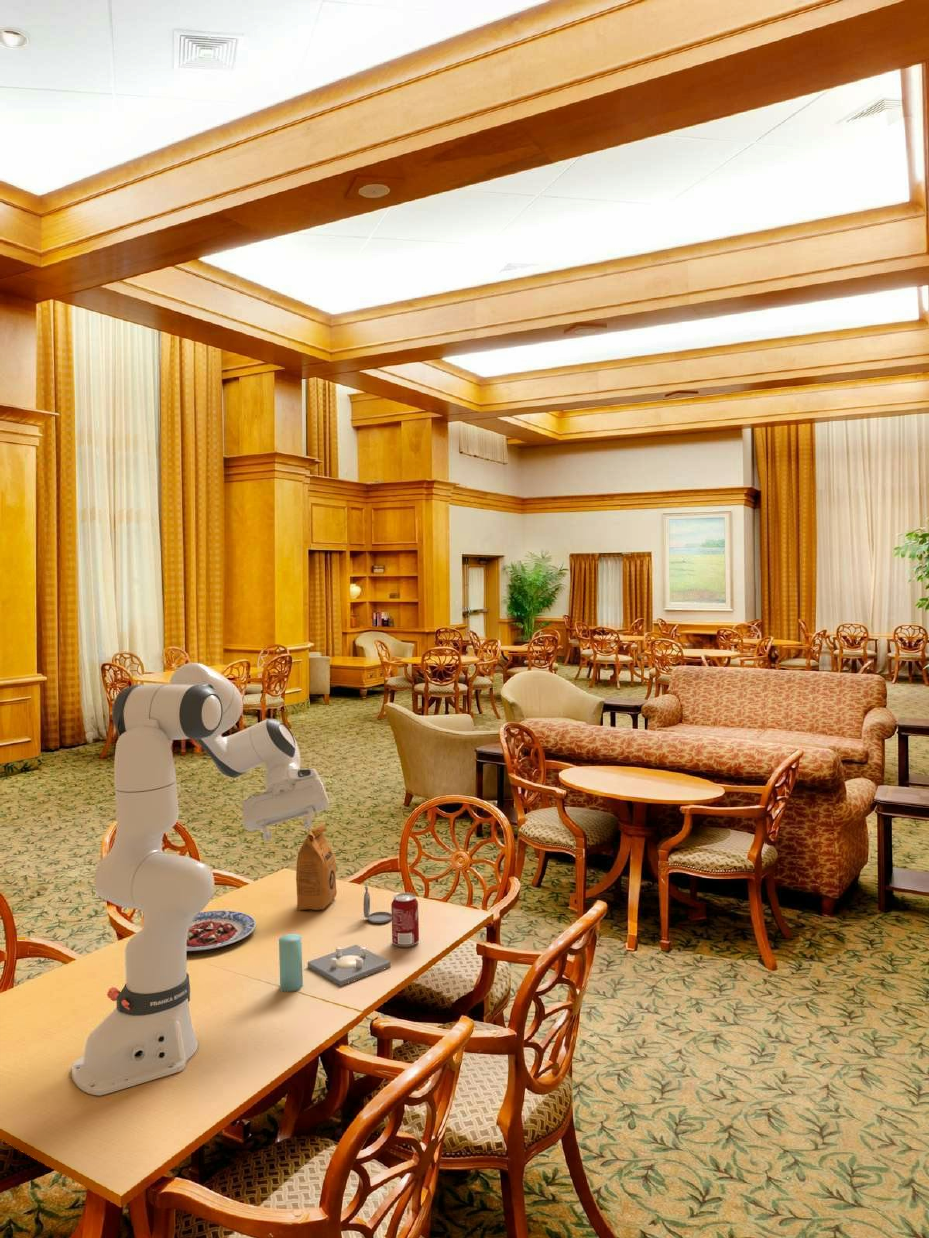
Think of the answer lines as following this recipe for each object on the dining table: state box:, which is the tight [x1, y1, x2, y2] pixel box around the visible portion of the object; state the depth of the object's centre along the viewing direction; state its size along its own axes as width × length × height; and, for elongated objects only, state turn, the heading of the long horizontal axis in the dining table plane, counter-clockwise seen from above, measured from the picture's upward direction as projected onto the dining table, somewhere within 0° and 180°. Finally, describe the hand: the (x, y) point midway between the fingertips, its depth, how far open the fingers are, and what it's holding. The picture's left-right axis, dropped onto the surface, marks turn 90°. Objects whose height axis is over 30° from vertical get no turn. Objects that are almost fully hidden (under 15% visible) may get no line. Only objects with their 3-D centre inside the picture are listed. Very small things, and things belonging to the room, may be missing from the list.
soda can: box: [391, 892, 420, 948], centre depth 212 cm, size 7×7×12 cm
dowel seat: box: [307, 944, 391, 987], centre depth 199 cm, size 14×14×3 cm
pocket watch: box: [363, 883, 392, 924], centre depth 228 cm, size 8×8×10 cm
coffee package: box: [295, 824, 337, 911], centre depth 240 cm, size 10×12×22 cm
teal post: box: [278, 933, 304, 993], centre depth 189 cm, size 5×5×11 cm
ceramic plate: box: [187, 909, 257, 952], centre depth 219 cm, size 26×26×3 cm
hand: (287, 832), depth 191 cm, fingers open, 8 cm apart
